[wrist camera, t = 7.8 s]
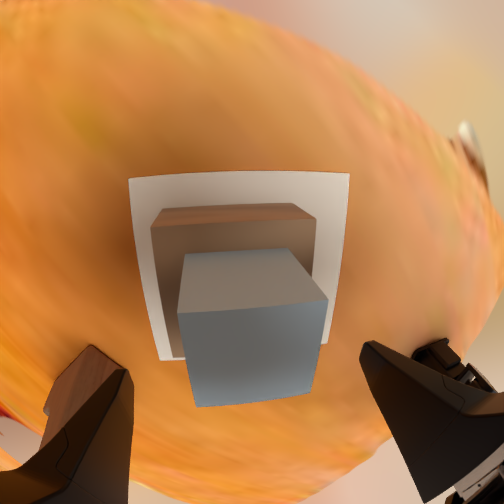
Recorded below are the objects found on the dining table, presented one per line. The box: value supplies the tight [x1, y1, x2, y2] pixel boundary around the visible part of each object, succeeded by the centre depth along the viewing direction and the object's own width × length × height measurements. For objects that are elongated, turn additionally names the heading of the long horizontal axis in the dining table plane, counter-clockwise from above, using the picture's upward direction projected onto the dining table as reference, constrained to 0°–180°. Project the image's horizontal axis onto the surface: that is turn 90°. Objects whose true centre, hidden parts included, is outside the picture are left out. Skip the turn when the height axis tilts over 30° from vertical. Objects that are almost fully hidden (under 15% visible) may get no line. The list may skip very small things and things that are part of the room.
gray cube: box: [177, 248, 329, 407], centre depth 12 cm, size 5×5×5 cm
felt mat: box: [128, 171, 350, 361], centre depth 18 cm, size 14×14×1 cm
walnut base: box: [150, 203, 317, 358], centre depth 16 cm, size 8×8×4 cm
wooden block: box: [39, 346, 121, 450], centre depth 12 cm, size 9×4×18 cm, turn 129°
